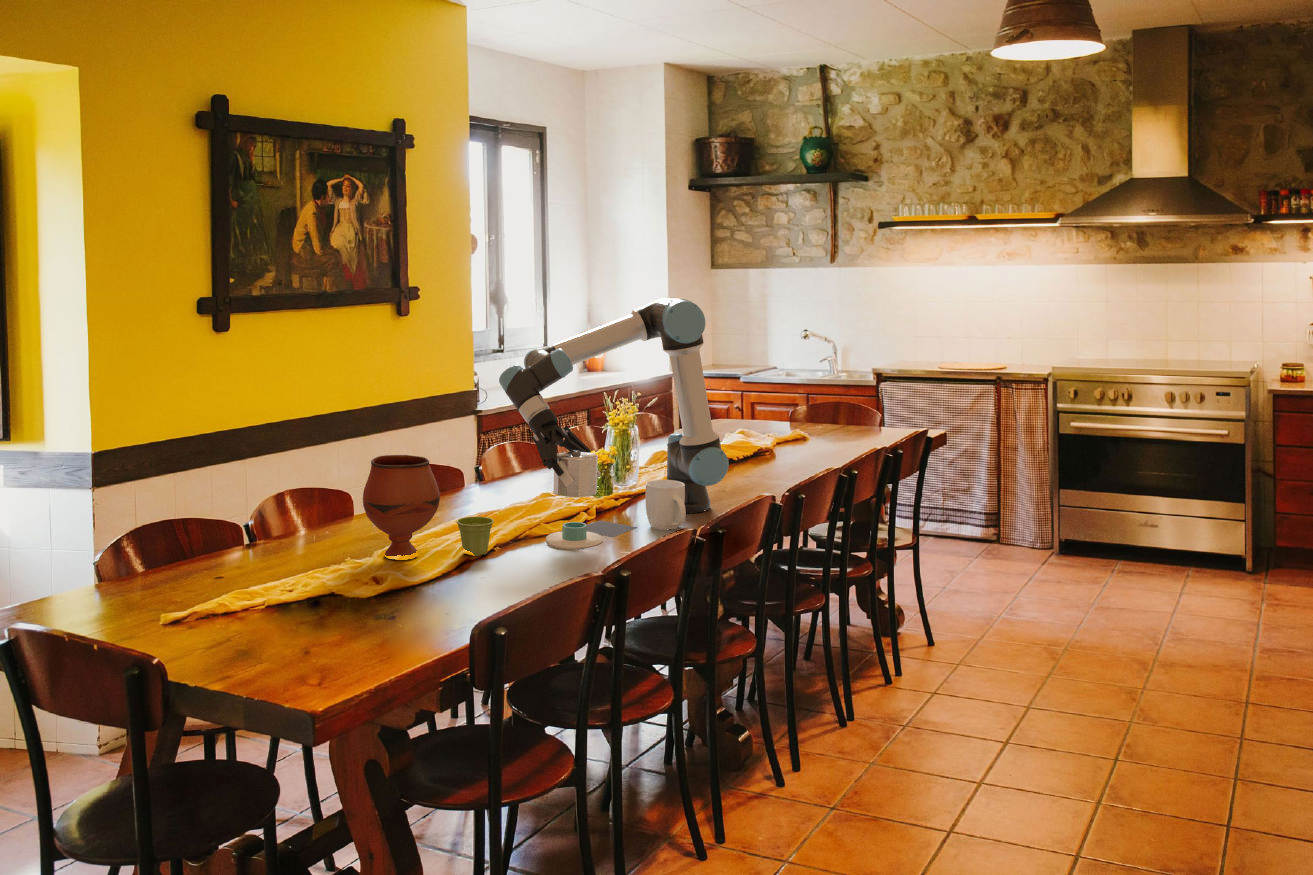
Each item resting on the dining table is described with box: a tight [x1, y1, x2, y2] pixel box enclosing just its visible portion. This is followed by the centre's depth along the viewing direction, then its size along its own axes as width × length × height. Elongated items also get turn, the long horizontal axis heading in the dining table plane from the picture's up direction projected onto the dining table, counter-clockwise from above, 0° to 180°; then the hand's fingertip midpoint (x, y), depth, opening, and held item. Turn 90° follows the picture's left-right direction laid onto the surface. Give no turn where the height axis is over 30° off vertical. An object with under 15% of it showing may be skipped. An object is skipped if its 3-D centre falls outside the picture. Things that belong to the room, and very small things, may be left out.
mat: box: [587, 520, 638, 538], centre depth 322 cm, size 13×13×1 cm
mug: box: [645, 479, 687, 531], centre depth 323 cm, size 15×11×13 cm
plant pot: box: [456, 516, 495, 557], centre depth 296 cm, size 9×9×9 cm
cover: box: [553, 450, 599, 498], centre depth 307 cm, size 11×11×11 cm
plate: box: [545, 521, 604, 551], centre depth 309 cm, size 15×15×5 cm
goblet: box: [362, 454, 441, 556], centre depth 290 cm, size 19×19×25 cm
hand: (583, 480), depth 306 cm, fingers closed on cover, 11 cm apart
